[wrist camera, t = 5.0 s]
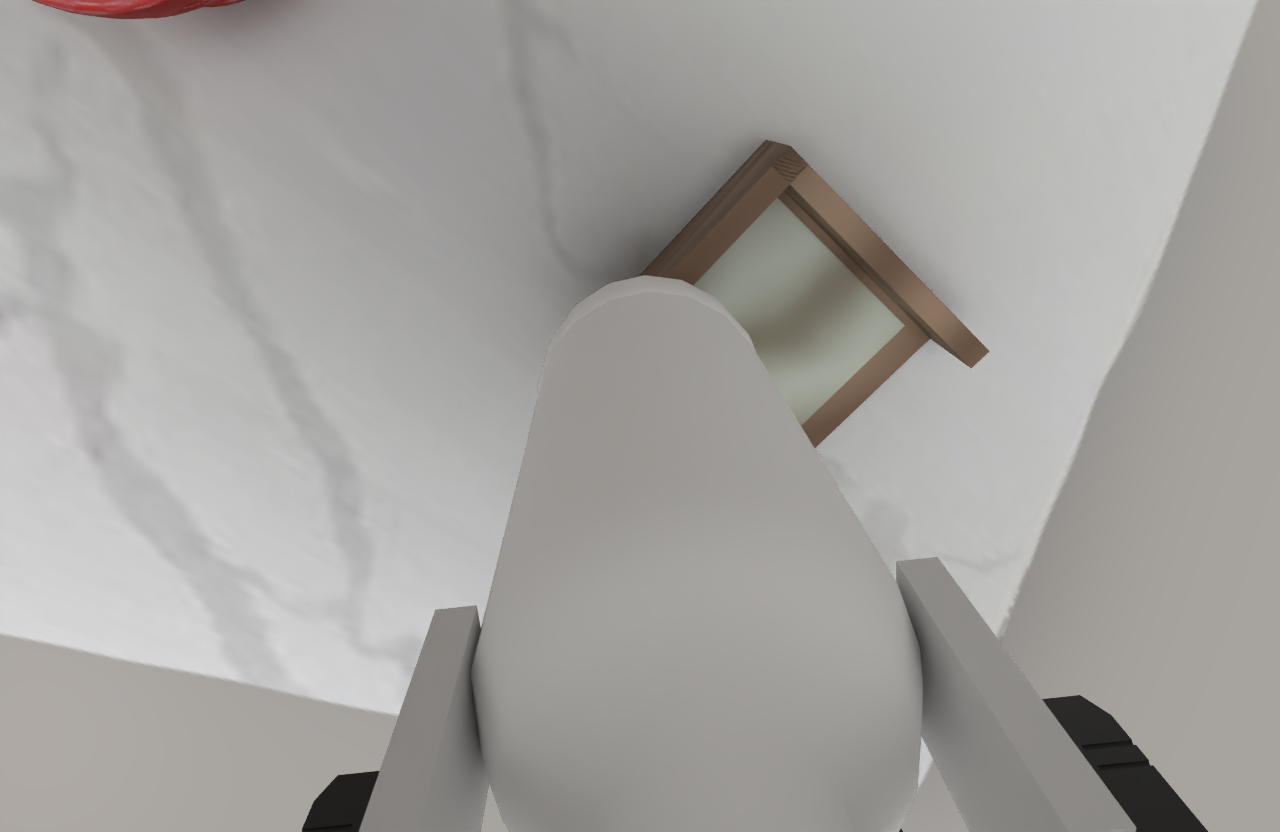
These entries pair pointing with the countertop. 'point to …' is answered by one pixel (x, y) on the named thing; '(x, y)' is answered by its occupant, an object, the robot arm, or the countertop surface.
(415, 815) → the robot arm
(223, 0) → the plant pot
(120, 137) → the countertop surface
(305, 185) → the countertop surface
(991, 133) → the countertop surface
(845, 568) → the bottle
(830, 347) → the wooden stand
